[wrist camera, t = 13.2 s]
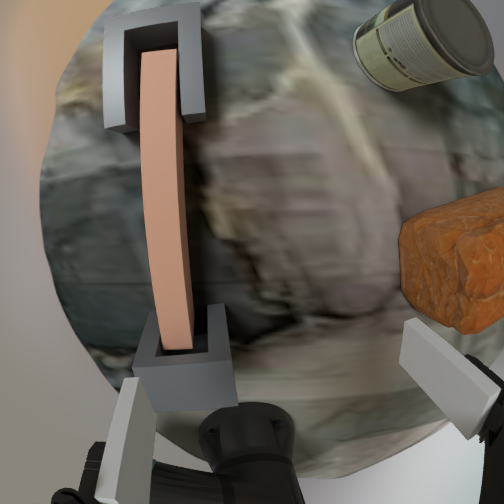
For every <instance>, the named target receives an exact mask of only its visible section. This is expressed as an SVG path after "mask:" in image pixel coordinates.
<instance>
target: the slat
mask: <svg viewBox="0 0 504 504" xmlns="http://www.w3.org/2000/svg"><path fill="white" fill-rule="evenodd" d="M140 148H141V173H142V190H143V204H144V216H145V227H146V237H147V246H148V255H149V263H150V271H151V278H152V285H153V292H154V299H155V305H156V311H157V317H158V323H159V328H160V334H161V339H162V344H163V349H164V350H175V349H193V336H194V319H195V315H194V305H193V296H192V286H191V275H190V264H189V252H188V239H187V225H186V208H185V190H184V165H183V122H182V110H181V93H180V73H179V56H178V53H177V49H170V50H160V51H152V52H144V53H142V61H141V85H140Z"/></svg>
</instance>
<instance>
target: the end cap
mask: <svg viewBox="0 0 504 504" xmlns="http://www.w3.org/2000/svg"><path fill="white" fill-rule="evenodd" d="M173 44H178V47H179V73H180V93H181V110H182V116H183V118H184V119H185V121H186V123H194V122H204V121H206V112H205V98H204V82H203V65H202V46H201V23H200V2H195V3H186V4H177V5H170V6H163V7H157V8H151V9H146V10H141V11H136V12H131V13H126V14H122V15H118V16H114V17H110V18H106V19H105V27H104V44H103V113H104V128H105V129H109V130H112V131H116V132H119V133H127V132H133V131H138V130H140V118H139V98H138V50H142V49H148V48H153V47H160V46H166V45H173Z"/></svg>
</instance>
